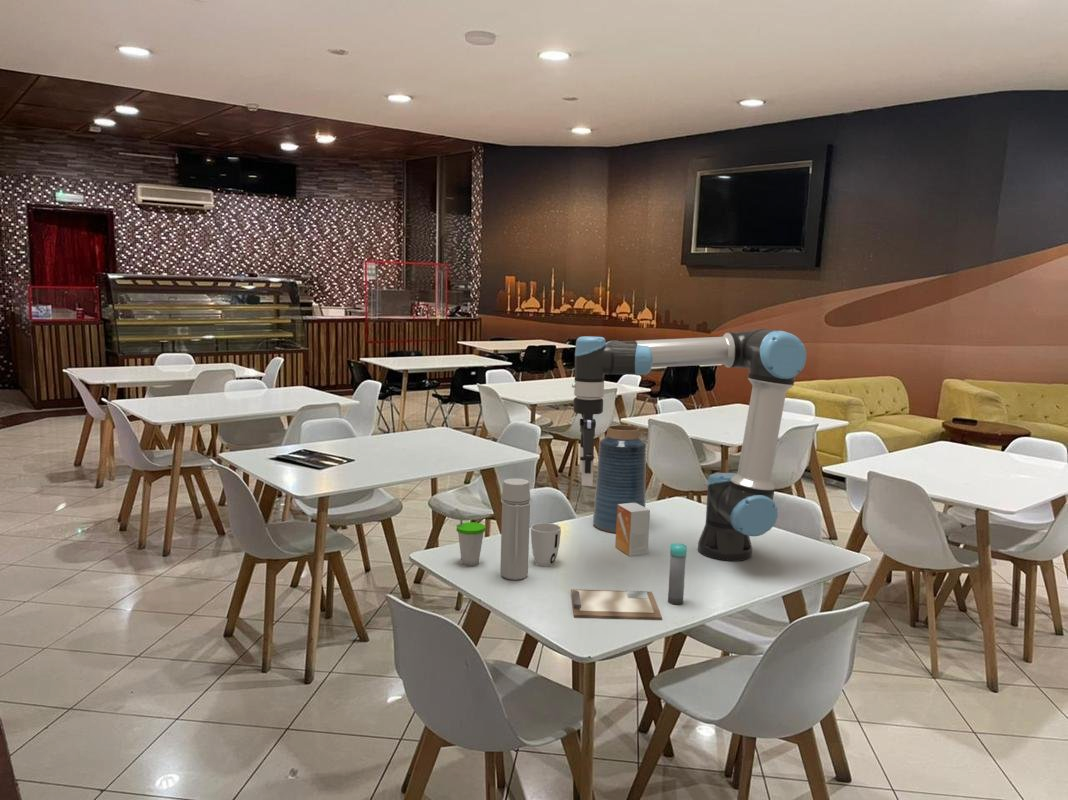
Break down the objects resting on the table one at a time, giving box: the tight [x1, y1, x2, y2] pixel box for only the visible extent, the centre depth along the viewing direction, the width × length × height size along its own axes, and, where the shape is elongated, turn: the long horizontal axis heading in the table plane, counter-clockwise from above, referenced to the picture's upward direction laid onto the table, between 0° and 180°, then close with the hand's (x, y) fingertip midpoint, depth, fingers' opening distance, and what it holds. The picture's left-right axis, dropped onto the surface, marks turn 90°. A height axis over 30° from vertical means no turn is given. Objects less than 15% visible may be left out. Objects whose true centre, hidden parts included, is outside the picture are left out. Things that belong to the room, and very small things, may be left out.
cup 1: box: [455, 507, 486, 568], centre depth 206 cm, size 8×8×15 cm
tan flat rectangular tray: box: [570, 588, 663, 621], centre depth 183 cm, size 20×15×2 cm
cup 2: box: [530, 522, 562, 567], centre depth 209 cm, size 8×8×10 cm
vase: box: [592, 424, 647, 534], centre depth 242 cm, size 16×16×32 cm
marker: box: [667, 542, 688, 606], centre depth 185 cm, size 4×4×14 cm
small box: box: [614, 503, 651, 557], centre depth 221 cm, size 8×6×13 cm
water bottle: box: [499, 477, 533, 581], centre depth 197 cm, size 9×8×25 cm
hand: (585, 478), depth 200 cm, fingers open, 13 cm apart
